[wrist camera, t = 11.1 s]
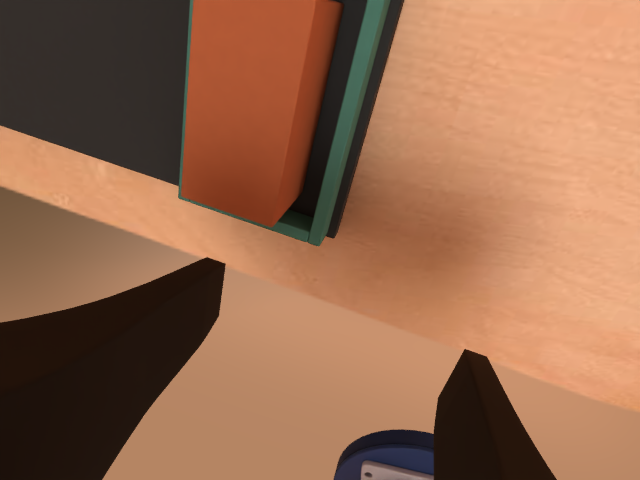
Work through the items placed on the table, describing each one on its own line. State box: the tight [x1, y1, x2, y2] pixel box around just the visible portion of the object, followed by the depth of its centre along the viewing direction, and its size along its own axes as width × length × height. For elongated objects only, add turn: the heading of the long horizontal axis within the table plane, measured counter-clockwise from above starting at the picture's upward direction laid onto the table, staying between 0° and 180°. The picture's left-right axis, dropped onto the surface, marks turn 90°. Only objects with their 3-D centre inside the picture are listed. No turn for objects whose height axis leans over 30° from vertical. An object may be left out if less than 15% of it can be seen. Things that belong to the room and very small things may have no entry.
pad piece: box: [181, 0, 344, 227], centre depth 16 cm, size 4×8×4 cm, turn 167°
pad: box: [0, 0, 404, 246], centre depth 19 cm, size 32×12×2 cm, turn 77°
